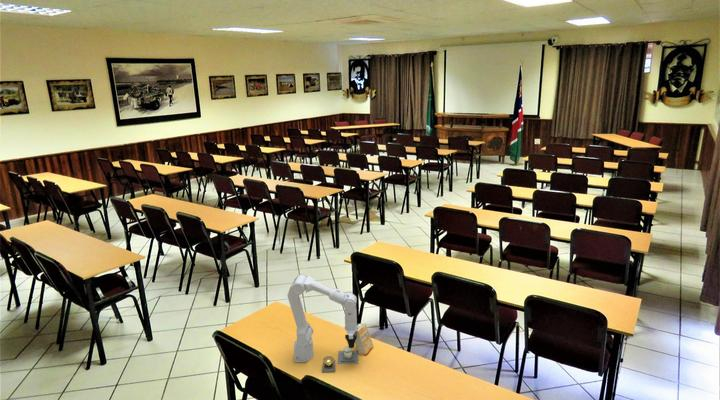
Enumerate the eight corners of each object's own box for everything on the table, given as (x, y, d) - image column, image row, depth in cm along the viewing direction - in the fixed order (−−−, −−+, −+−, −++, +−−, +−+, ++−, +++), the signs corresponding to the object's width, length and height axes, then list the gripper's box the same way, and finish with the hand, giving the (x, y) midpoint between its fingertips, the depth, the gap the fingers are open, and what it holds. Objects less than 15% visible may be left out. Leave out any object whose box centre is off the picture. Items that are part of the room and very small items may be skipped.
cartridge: (343, 359, 211) (343, 351, 210) (344, 354, 215) (343, 346, 214) (352, 359, 211) (351, 350, 210) (352, 354, 215) (351, 345, 214)
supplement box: (366, 354, 213) (358, 331, 212) (358, 355, 216) (350, 331, 214) (374, 346, 220) (365, 322, 219) (366, 346, 223) (358, 323, 221)
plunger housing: (322, 374, 203) (322, 368, 202) (323, 365, 209) (323, 360, 208) (334, 374, 203) (334, 368, 202) (335, 365, 209) (335, 360, 208)
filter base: (337, 365, 209) (337, 362, 208) (338, 352, 218) (338, 350, 218) (358, 365, 209) (358, 362, 208) (358, 352, 218) (357, 349, 218)
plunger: (323, 370, 203) (322, 362, 202) (324, 363, 207) (323, 356, 206) (333, 369, 203) (333, 362, 202) (334, 362, 207) (334, 355, 206)
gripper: (359, 327, 199) (359, 352, 203) (358, 310, 213) (359, 334, 216) (344, 327, 199) (345, 352, 202) (344, 310, 212) (345, 334, 216)
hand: (351, 343), depth 209 cm, fingers open, 7 cm apart
